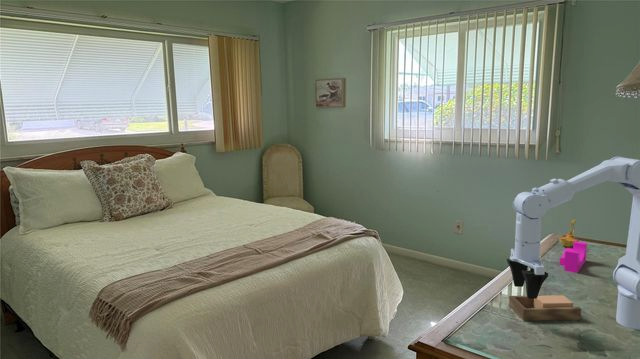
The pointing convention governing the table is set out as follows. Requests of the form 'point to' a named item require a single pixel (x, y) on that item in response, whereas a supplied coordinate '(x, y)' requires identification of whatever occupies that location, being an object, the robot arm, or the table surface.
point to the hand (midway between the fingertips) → (525, 292)
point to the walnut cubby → (541, 310)
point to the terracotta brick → (552, 301)
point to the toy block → (574, 257)
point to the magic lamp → (569, 238)
